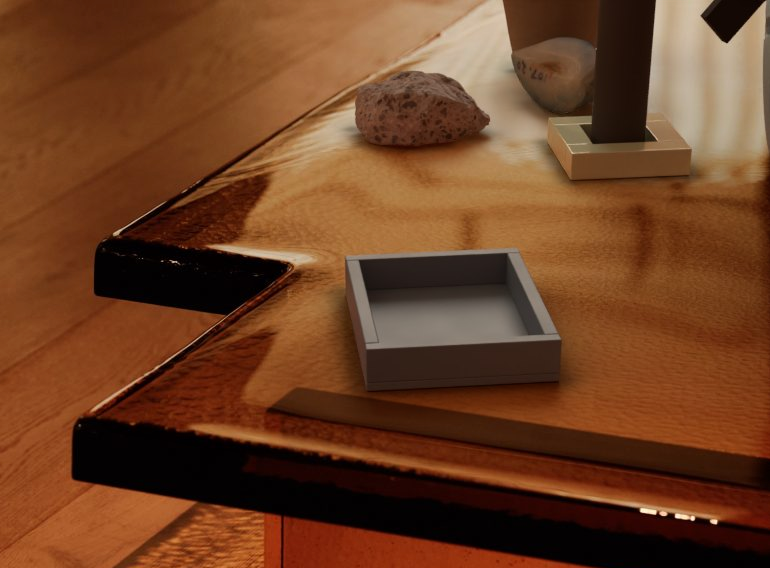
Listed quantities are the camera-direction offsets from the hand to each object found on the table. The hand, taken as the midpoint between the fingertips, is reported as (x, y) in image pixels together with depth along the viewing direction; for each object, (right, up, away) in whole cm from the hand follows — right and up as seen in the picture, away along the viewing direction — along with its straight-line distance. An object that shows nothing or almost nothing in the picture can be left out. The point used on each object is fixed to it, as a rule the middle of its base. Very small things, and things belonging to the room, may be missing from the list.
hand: (664, 8), depth 116 cm
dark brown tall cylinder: (-3, -10, +4) cm, 11 cm away
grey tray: (-17, -26, -23) cm, 38 cm away
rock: (-18, -6, +11) cm, 22 cm away
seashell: (-6, -3, +16) cm, 18 cm away
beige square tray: (-3, -10, +4) cm, 11 cm away
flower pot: (-5, +3, +26) cm, 27 cm away
